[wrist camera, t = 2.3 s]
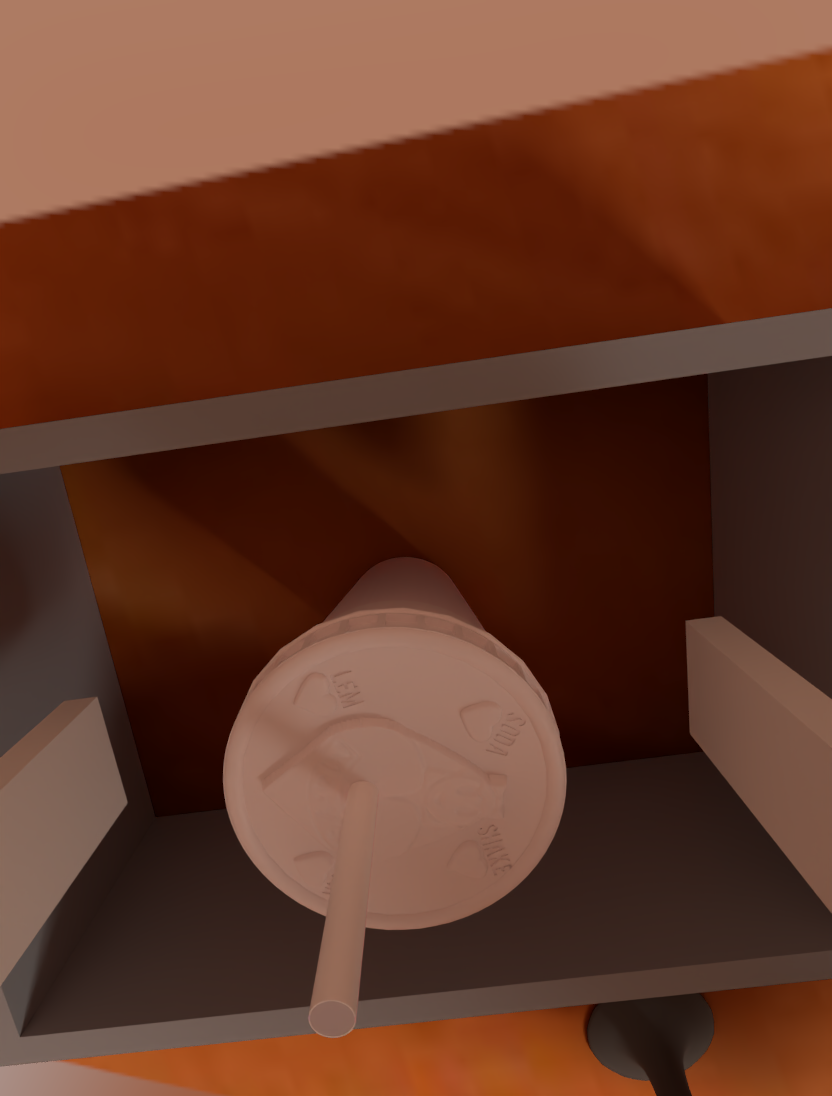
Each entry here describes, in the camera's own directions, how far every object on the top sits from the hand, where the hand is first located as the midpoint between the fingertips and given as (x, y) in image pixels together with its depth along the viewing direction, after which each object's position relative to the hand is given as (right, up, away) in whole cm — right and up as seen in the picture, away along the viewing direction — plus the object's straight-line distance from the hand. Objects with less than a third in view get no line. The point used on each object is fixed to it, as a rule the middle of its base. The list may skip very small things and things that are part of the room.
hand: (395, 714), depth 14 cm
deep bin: (0, +2, +7) cm, 7 cm away
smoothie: (0, +2, +7) cm, 7 cm away
